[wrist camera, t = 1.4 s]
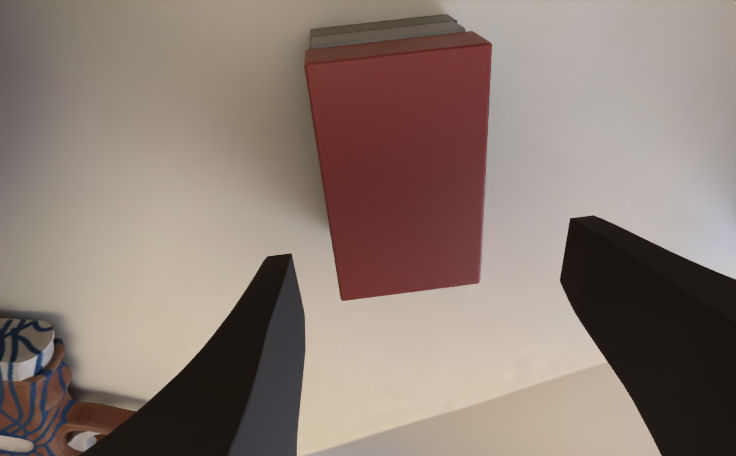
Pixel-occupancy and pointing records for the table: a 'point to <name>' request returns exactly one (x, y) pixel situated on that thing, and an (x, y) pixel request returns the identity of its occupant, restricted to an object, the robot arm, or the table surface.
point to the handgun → (44, 396)
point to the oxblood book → (403, 159)
